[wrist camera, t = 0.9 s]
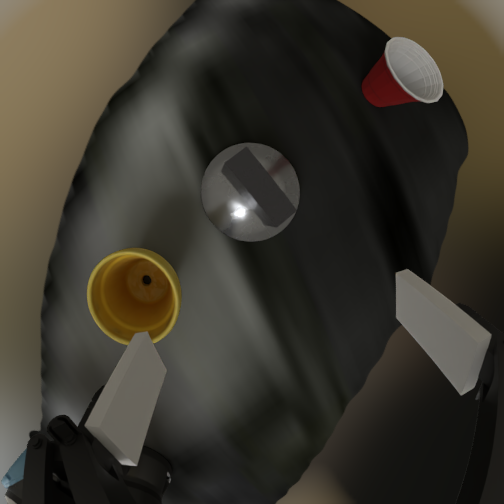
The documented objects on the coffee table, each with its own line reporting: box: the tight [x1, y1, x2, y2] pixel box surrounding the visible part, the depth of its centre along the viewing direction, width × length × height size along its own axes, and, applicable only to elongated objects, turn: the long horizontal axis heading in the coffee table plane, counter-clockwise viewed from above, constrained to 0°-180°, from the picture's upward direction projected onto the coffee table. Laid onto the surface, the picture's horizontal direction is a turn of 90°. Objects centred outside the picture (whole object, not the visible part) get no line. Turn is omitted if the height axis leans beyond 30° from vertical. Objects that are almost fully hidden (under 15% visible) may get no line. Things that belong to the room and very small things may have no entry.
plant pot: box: [87, 248, 182, 345], centre depth 30 cm, size 10×10×10 cm
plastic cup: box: [361, 37, 443, 107], centre depth 31 cm, size 11×11×12 cm
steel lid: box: [201, 143, 300, 241], centre depth 33 cm, size 13×13×7 cm
